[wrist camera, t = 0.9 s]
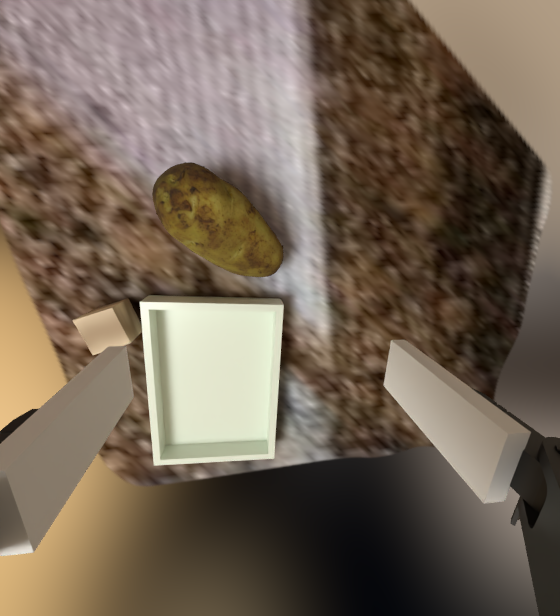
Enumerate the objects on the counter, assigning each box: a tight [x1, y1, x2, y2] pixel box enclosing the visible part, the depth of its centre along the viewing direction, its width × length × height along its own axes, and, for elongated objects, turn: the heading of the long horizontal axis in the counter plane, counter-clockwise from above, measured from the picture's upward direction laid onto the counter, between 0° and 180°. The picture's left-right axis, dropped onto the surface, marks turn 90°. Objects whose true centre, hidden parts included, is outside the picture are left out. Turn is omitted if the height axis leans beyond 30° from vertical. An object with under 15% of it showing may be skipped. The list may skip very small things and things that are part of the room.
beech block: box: [73, 299, 142, 355], centre depth 29 cm, size 4×4×4 cm
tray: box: [140, 295, 284, 465], centre depth 33 cm, size 21×15×3 cm
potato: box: [152, 163, 284, 277], centre depth 26 cm, size 8×13×8 cm, turn 33°
